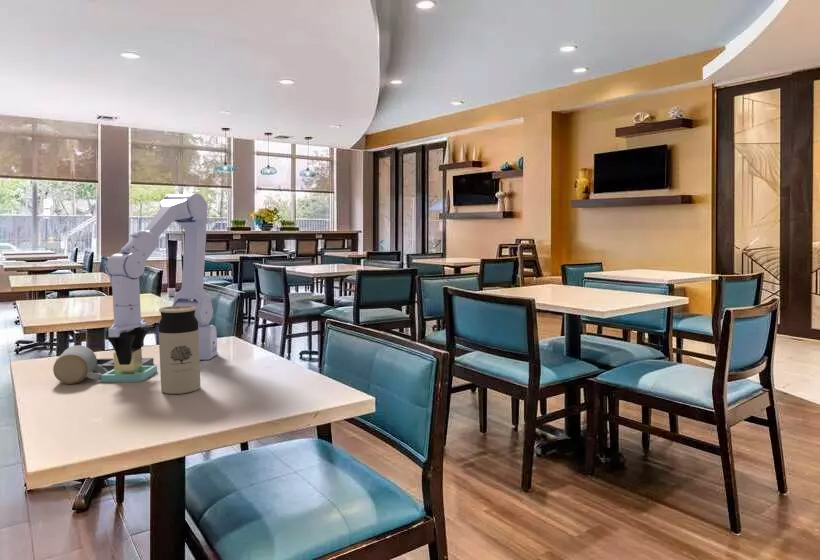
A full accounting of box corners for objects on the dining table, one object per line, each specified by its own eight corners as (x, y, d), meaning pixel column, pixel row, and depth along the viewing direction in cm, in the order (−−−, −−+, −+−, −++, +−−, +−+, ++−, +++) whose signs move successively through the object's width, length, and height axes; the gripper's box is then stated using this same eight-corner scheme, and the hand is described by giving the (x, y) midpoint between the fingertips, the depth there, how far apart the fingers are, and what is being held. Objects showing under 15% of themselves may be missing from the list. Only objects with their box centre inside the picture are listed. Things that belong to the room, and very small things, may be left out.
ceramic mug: (51, 386, 129) (50, 352, 128) (61, 377, 137) (60, 345, 136) (104, 383, 132) (103, 350, 131) (111, 375, 140) (110, 343, 139)
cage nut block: (123, 373, 139) (122, 348, 139) (142, 372, 139) (141, 347, 139) (114, 377, 135) (113, 352, 134) (134, 377, 135) (133, 351, 134)
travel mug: (165, 386, 129) (162, 306, 128) (202, 383, 131) (200, 304, 129) (157, 396, 122) (153, 311, 120) (197, 393, 123) (194, 309, 122)
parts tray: (157, 372, 142) (156, 365, 142) (141, 381, 133) (141, 374, 133) (119, 372, 141) (119, 366, 141) (101, 382, 133) (101, 375, 132)
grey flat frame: (153, 363, 151) (153, 357, 150) (140, 371, 143) (140, 365, 142) (83, 364, 150) (82, 358, 150) (65, 371, 142) (65, 365, 142)
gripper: (130, 308, 128) (133, 369, 130) (156, 300, 143) (158, 355, 144) (97, 309, 128) (100, 369, 129) (127, 300, 143) (130, 355, 144)
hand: (129, 361), depth 137 cm, fingers closed on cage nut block, 4 cm apart
